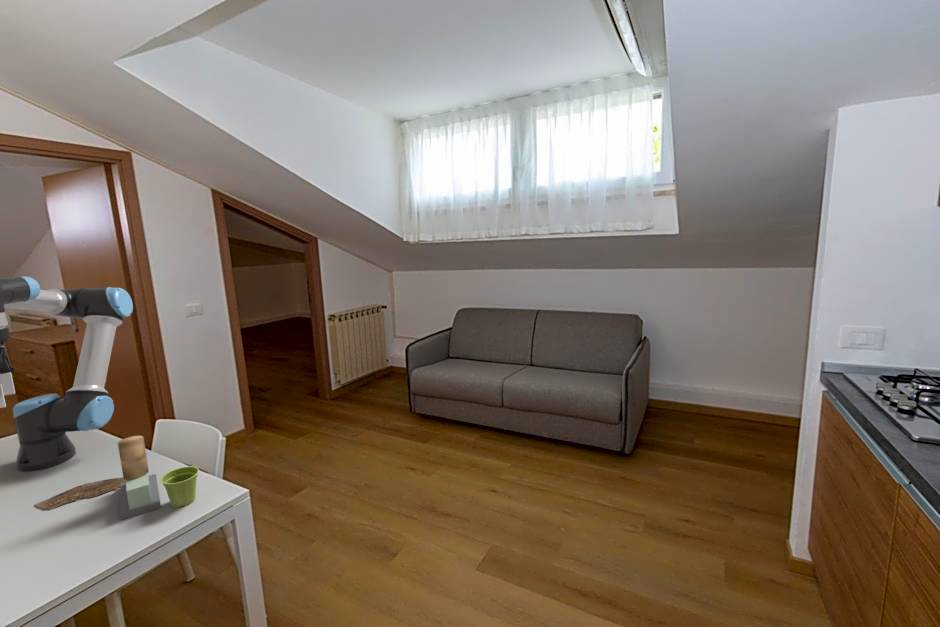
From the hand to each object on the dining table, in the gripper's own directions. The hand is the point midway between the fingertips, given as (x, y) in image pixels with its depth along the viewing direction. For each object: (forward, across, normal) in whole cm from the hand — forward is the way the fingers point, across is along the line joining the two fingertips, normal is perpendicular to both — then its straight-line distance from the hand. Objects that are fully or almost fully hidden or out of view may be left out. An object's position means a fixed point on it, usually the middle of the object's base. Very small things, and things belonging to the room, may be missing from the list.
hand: (3, 401), depth 122 cm
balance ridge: (+32, +20, +27) cm, 46 cm away
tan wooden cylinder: (+24, +20, +27) cm, 41 cm away
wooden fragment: (+32, +5, +16) cm, 36 cm away
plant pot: (+32, +31, +37) cm, 58 cm away
